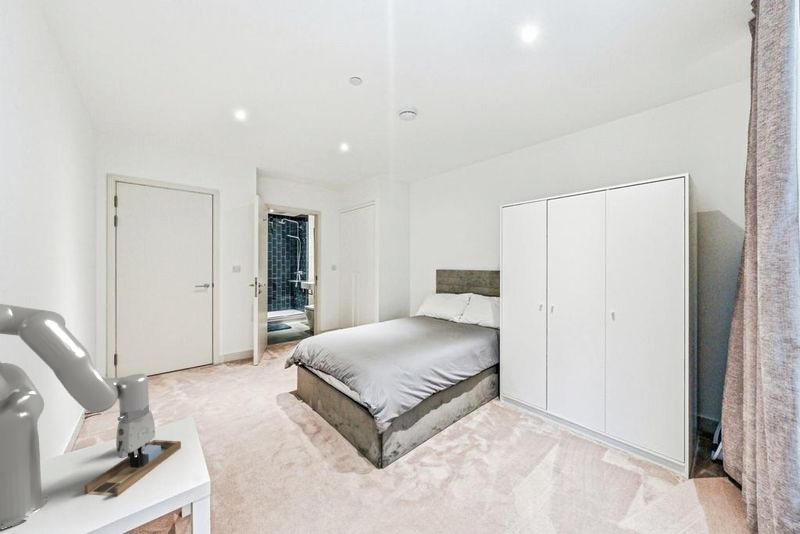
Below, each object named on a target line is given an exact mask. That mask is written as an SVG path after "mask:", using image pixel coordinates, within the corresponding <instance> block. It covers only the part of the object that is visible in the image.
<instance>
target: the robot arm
mask: <svg viewBox="0 0 800 534" xmlns="http://www.w3.org/2000/svg"><path fill="white" fill-rule="evenodd" d="M0 334H1V335H8V336H9V335H10V336H19V338H20V339H21V341H22V342H24V344H25V345H27V346H28V348H29V349H30V350H32V352H34V353H35V355H37V356H38V357H39V358H40V359H41V360H42V361H43V362H44V363H45V364H46V365H47V366H48V367H49V369H51V371H52V372H53V373H54V375H55V377H56V378H57V380H58V381H59V382H60V383H61V385H62V386H63V387H64V389H65V391H66V392H67V393H68V395H70V396H71V397H72V398H73V399H74V400H75V402H77V403H78V404H79V405H80V406H81V407H82V408H83V409H85V410H86V411H88V412H91V413H93V414H97V413H98V414H99V413H103V412H106V411H107V410H110V409H111V408H112V407H114V405H115V404H116V402H117V401H119V402H118V403H119V417H117V421H118V424H117V428H116V429H117V430H116V444H115V445H116V452H117V453H118V458H119V459H126V458H127V457H130V467H133V468H139V467H140V466H141V465H143V452H144V451H145V446H146V445H147V443H148V442H149V441H150V442H151V441H153V440H154V438H155V437H156V426H155V421H154V420H155V418H154V416H153V413H152V410H150V401H149V399H150V396H149V378H148V376H147V375H146V374H144V373H136V374H135V373H134V374H130V375H127V376H124V377H110V378H102V377H101V375H100V374H99V372H98V371H97V370H96V368H95V366H94V364H93V361H92V358H91V355H90V353H89V351H88V350H87V348H86V347H85V346H84V345H83V344H82V343H81V342H80V341H79V340H78V339H77V338H76V336H74V335H73V333H72V332H70V330H69V329H68V328H67V327H66V320H65V317H64V316H63V315H62V314H59V313H58V312H55V311H51V310H44V309H37V308H31V307H23V306H19V305H18V306H17V305H10V304H4V303H0ZM44 408H45V402H44V398H43V396H42V395H41V393H40V392H39V391H38V389H37V388H36V386H35V384H34V383H33V382H32V379H31V378H30V377H29V376H28V374H27V373H26V372H25V370H24V369H22V368H21V367H20V366H19V365H17V364H15V363H8V362H1V361H0V529H2V528H5V527H9V526H12V527H14V526H17V525H20V524H22V523H24V522H26V521H27V519H26V518H29V517H30V516H33V515H34V514H36V513H37V512H38V511H40V510H41V509H43V508H44V507H45V505H47V504H48V503H49V500H50V495H49V494H47V493H42V477H41V454H40V453H41V452H40V451H41V450H40V439H39V431H38V420H39V419H40V416H41V415H42V413H43V410H44Z"/></svg>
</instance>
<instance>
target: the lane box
mask: <svg viewBox="0 0 800 534" xmlns="http://www.w3.org/2000/svg"><path fill="white" fill-rule="evenodd" d="M147 445H159V446H161V454H160V455H159V456H157V457H156V458H155V459H153V460H152V461H151V462H149V463H148V464H146V465H141V466H140V467H139V468H133V467H130V457H128V456H127V457H125V458H123V460H122V461H119V462H118V463H117V464H115V465H113V467H112V466H111V468H109V469H107V470H106V471H105V472H103V473H101V474H100V475H99V476H97V477H95V478H94V479H93V480H91V481H89V482H87V483H86V484H85V485H84V494H85V495H92V496H93V495H96V496H108V497H109V496H110V497H119V496H120V495H122V494H123V493H124V492H125V491H127V490H128V489H129V488H130V487H132V486H133V485H135V484H136V483H137V482H138V481H140V480H141V479H143V477H145V476H146V475H148V474H149V473H150V472H152V471H153V470H155V468H157V467H158V466H159V465H161V464H162V463H164V462H165V461H166V460H168V459H169V458H170V457H171V456H172V455H174V454H175V453H177V452H178V451H179V450H181V449H182V441H180V440H178V441H177V440H164V439H163V440H162V439H161V440H159V439H152V440H150V443H148V444H147ZM147 445H146V446H147ZM146 446H145V447H146Z"/></svg>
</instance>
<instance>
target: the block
mask: <svg viewBox="0 0 800 534" xmlns="http://www.w3.org/2000/svg"><path fill="white" fill-rule="evenodd" d="M160 454H161V446H159V445H147V446H146V447H145V451H144V452H143V465H146V464H148V463H149V462H151V461H152V460H153V459H155V458H156V457H157V456H159V455H160Z"/></svg>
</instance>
